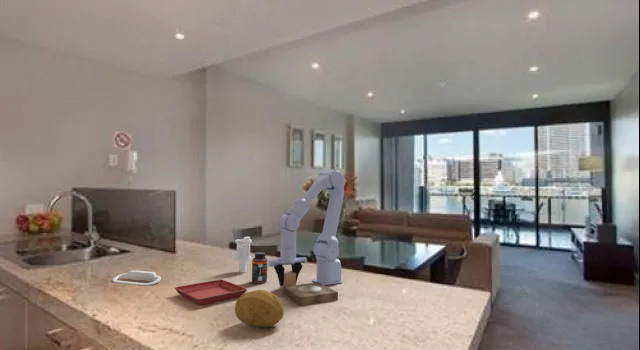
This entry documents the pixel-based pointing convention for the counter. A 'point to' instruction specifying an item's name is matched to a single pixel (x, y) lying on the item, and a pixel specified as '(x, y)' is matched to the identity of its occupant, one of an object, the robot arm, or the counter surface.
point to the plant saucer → (211, 292)
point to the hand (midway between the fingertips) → (287, 284)
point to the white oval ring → (139, 277)
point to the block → (289, 279)
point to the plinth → (310, 293)
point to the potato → (259, 309)
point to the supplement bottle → (259, 268)
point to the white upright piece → (243, 253)
